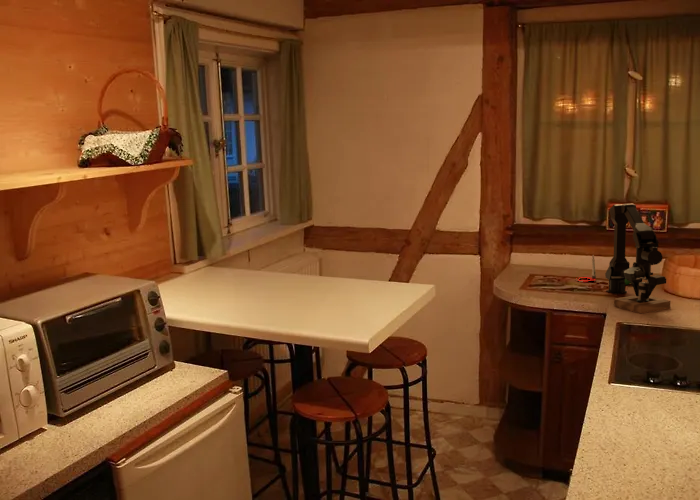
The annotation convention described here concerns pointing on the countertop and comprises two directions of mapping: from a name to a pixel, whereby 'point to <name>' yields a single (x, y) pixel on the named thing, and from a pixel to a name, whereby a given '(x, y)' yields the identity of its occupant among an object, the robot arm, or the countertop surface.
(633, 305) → the holder block
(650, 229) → the robot arm
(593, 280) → the red grey looped piece
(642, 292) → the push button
